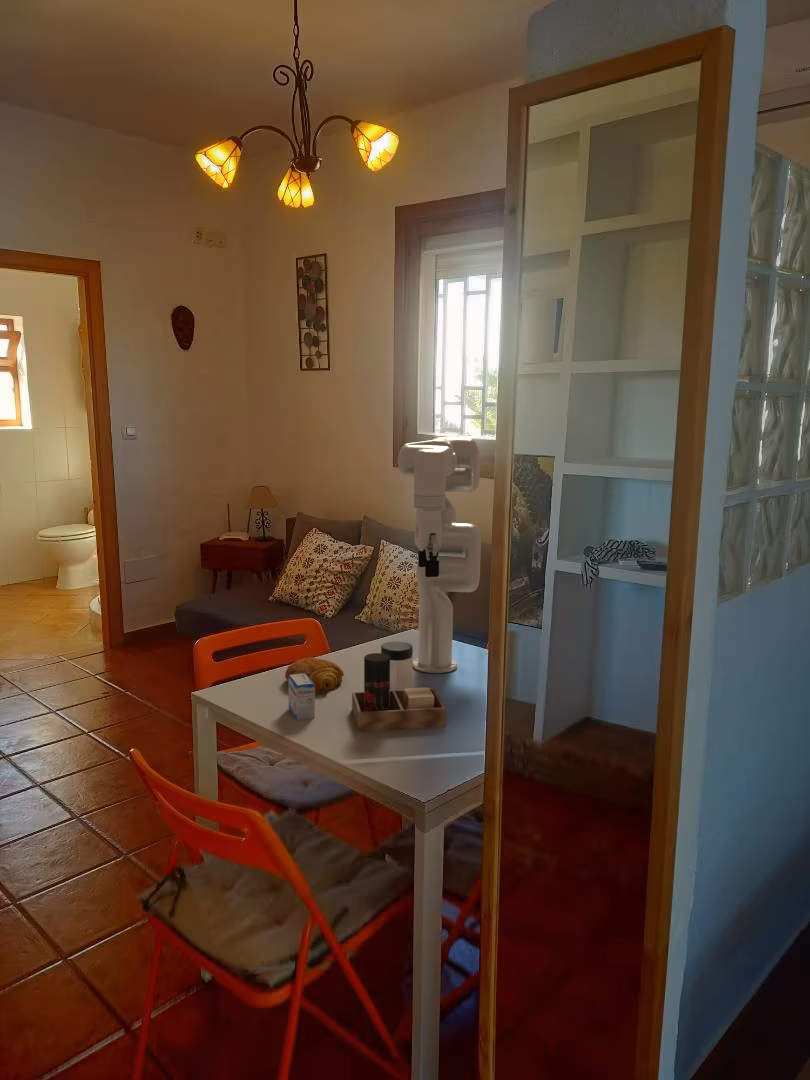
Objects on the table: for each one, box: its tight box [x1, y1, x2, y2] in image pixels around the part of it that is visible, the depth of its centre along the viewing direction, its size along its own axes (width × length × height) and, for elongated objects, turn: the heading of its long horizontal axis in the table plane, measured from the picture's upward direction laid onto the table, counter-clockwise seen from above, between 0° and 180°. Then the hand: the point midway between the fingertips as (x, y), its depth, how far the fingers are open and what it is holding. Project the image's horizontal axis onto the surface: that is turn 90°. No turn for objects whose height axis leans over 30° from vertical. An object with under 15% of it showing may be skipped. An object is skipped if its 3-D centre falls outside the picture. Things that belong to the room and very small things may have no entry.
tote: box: [351, 687, 447, 733], centre depth 185 cm, size 20×13×5 cm, turn 100°
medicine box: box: [288, 674, 316, 721], centre depth 188 cm, size 8×4×9 cm, turn 23°
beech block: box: [404, 686, 434, 710], centre depth 186 cm, size 6×6×6 cm
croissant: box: [284, 656, 345, 694], centre depth 208 cm, size 14×16×8 cm
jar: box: [380, 641, 414, 690], centre depth 204 cm, size 9×8×12 cm
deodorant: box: [363, 652, 390, 712], centre depth 183 cm, size 6×6×15 cm
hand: (428, 571), depth 191 cm, fingers open, 9 cm apart
